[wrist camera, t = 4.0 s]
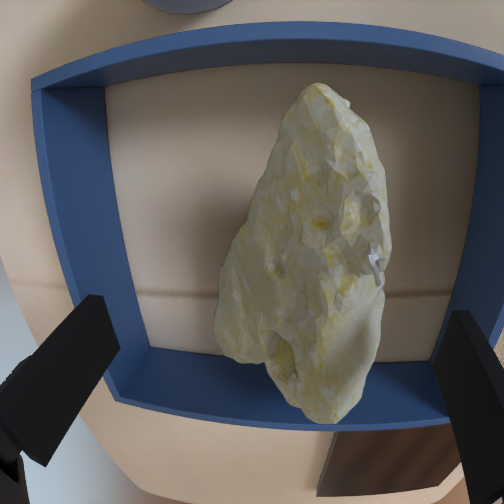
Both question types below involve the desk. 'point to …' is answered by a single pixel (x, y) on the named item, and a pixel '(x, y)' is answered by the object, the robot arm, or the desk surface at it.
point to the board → (388, 461)
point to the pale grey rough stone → (311, 260)
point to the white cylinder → (186, 5)
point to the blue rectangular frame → (112, 244)
